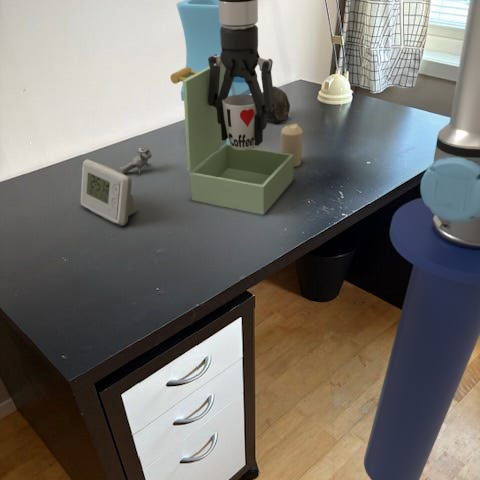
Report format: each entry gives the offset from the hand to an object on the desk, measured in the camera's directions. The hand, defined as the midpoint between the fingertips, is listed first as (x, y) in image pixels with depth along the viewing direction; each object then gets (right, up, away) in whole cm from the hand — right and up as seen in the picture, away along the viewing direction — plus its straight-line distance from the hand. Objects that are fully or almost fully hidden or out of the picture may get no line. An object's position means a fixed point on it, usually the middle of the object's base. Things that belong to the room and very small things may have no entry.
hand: (242, 140), depth 109 cm
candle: (+13, +1, +19) cm, 23 cm away
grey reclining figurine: (-27, -2, +18) cm, 32 cm away
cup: (0, -1, +1) cm, 1 cm away
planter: (-6, +12, +32) cm, 34 cm away
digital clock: (-31, -16, +2) cm, 35 cm away
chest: (0, -9, +8) cm, 12 cm away
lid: (-8, +6, 0) cm, 9 cm away
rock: (+11, +24, +45) cm, 52 cm away
